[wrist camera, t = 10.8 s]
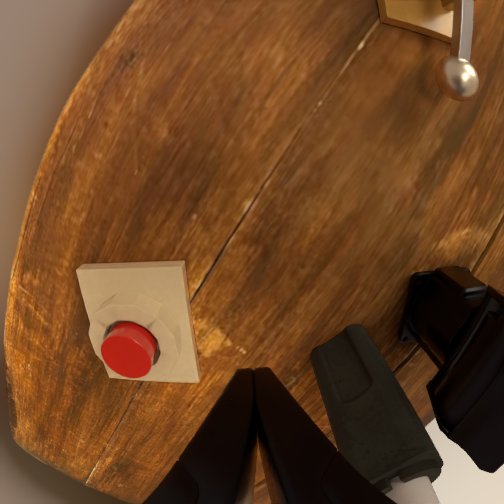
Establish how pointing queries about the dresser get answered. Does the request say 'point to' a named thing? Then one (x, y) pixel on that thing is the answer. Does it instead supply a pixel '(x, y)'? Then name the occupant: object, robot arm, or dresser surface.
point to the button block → (144, 312)
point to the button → (129, 350)
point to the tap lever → (459, 56)
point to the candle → (375, 419)
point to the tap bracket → (420, 16)
